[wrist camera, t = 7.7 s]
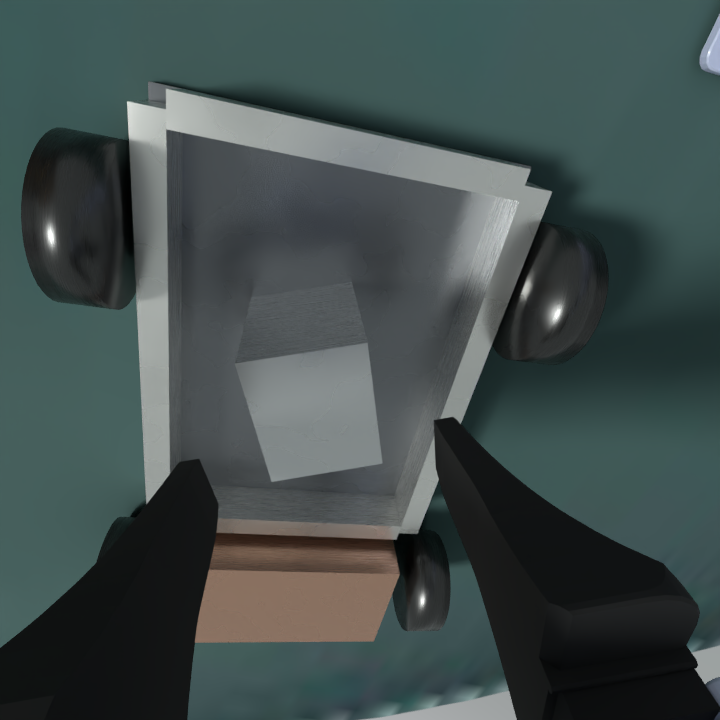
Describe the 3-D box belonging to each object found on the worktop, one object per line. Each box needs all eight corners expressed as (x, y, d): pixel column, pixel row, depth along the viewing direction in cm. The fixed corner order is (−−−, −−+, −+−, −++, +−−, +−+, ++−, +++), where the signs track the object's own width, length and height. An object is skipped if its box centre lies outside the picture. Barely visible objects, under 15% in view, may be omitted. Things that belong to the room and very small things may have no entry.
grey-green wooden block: (351, 282, 18) (367, 343, 13) (365, 385, 20) (382, 463, 16) (251, 297, 18) (234, 363, 13) (278, 399, 20) (271, 481, 16)
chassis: (570, 174, 17) (660, 202, 13) (407, 575, 29) (425, 660, 25) (88, 67, 14) (-9, 56, 9) (129, 569, 26) (95, 665, 21)
